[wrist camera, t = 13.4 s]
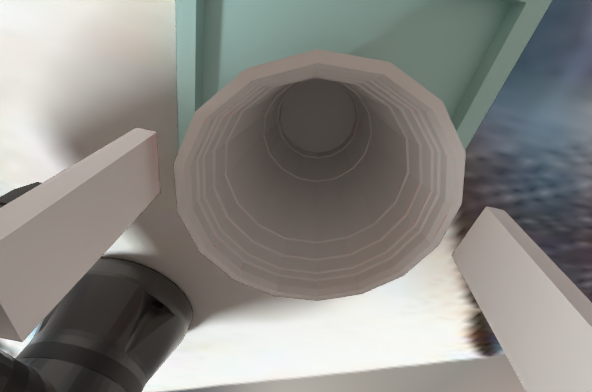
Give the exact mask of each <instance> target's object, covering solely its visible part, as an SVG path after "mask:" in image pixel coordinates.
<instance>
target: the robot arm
mask: <svg viewBox="0 0 592 392" xmlns="http://www.w3.org/2000/svg"><path fill="white" fill-rule="evenodd" d="M159 193H160V177H159V161H158V144H157V132H155V131H150V130H146V129H141V128H137V127H136V128H135V129H133V130H131V131H129V132H128V133H126V134H124V135H123V136H121V137H119V138H118V139H116V140H114V141H113V142H111V143H109V144H107V145H106V146H104V147H102V148H101V149H99V150H97V151H96V152H94V153H92V154H91V155H89V156H87V157H86V158H84V159H82V160H80V161H79V162H77V163H75V164H74V165H72V166H70V167H69V168H67V169H65V170H64V171H62V172H60V173H58V174H57V175H55V176H53V177H52V178H50V179H48V180H47V181H45V182H43V183H39V182H36V183H33V184H30V185H27V186H24V187H20V188H17V189H14V190H12V191H10V192H9V193H7V194H5V195H3V196H1V197H0V338H4V339H9V340H15V341H20V342H23V341H24V340H25V339H26V338H27V336H28V335H29V334H30V333H31V332H32V331H33V330H34V329H35V328H36V327H37V326H38V325H39V323H40V322H41V323H40V325H39V327H38V329H37V331H36V333H35V335H34V337H33V339H32V340H31V342H30V343H29V344H28V345H27V346H26V347H25V348H24V350H23V351H22V352H21V353H20V354H19V355H18V356H17V357H16V358H13V357H12V356H10V355H9V354H7V353H5V352H4V351H2V350H1V349H0V392H142V390H143V388H144V386H145V384H146V383H147V382H148V380H149V379H150V378H151V377H152V376H153V375H154V373H155V372H156V371H157V370H158V369H159V367H160V366H161V365H162V364H163V363H164V362H165V360H166V359H167V358H168V357H169V356H170V355H171V353H172V352H173V351H174V350H175V349H176V347H177V346H178V345H179V344H180V343H181V341H182V340H183V338H184V336H185V334H186V332H187V330H188V328H189V325H190V323H191V320H192V308H191V305H190V303H189V301H188V299H187V298H186V296H185V295H184V293H183V292H182V291H181V290H180V289H179V288H178V287H177V286H176V285H175V284H174V283H172V282H171V281H170V280H168V279H167V278H166V277H164V276H162V275H161V274H159V273H157V272H156V271H154V270H151V269H149V268H147V267H145V266H142V265H139V264H136V263H133V262H129V261H125V260H119V259H110V258H103V259H99V258H100V257H101V256H102V255H103V254H104V253H105V252H106V251H107V250H108V249H109V248H110V247H111V245H112V244H113V243H114V242H115V241H116V240H117V239H118V238H119V237H120V236H121V235H122V234H123V232H124V231H125V230H126V229H127V228H128V227H129V226H130V225H131V224H132V223H133V222H134V221H135V219H136V218H137V217H138V216H139V215H140V214H141V213H142V212H143V211H144V210H145V209H146V208H147V206H148V205H149V204H150V203H151V202H152V201H153V200H154V199H155V198H156V197H157V196H158V195H159ZM452 257H453V259H454V261H455V263H456V264H457V266H458V268H459V270H460V272H461V274H462V275H463V277H464V279H465V281H466V283H467V285H468V286H469V288H470V290H471V292H472V294H473V296H474V297H475V299H476V301H477V303H478V305H479V307H480V308H481V310H482V312H483V314H484V316H485V318H486V319H487V321H488V323H489V325H490V327H491V329H492V330H493V332H494V334H495V336H496V338H497V340H498V341H499V343H500V345H501V347H502V349H503V351H504V352H505V354H506V356H507V358H508V360H509V361H510V363H511V365H512V367H513V369H514V371H515V373H516V374H517V376H518V378H519V380H520V382H521V384H522V385H523V387H524V389H525V391H526V392H592V303H591V301H590V300H589V299H588V298H587V297H586V296H585V295H584V294H583V293H582V292H581V291H580V290H579V289H578V288H577V287H576V286H575V285H574V284H573V282H572V281H571V280H570V279H569V278H568V277H567V276H566V275H565V274H564V273H563V272H562V271H561V270H560V269H559V268H558V267H557V266H556V264H555V263H554V262H553V261H552V260H551V259H550V258H549V257H548V256H547V255H546V254H545V253H544V252H543V251H542V250H541V249H540V248H539V247H538V245H537V244H536V243H535V242H534V241H533V240H532V239H531V238H530V237H529V236H528V235H527V234H526V233H525V232H524V231H523V230H522V229H521V228H520V226H519V225H518V224H517V223H516V222H515V221H514V220H513V219H512V218H511V217H510V216H509V215H508V214H507V213H506V212H505V211H504V210H501V209H496V208H492V207H487V206H486V207H485V208H484V210H483V211H482V213H481V214H480V216H479V217H478V218H477V220H476V221H475V223H474V224H473V225H472V227H471V228H470V230H469V231H468V233H467V234H466V235H465V237H464V238H463V240H462V241H461V243H460V244H459V245H458V247H457V248H456V250H455V251H454V252H453V254H452Z"/></svg>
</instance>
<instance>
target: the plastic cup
mask: <svg viewBox="0 0 592 392" xmlns="http://www.w3.org/2000/svg"><path fill="white" fill-rule="evenodd" d="M465 158H466V152H465V150H464V148H463V146H462V143H461V141H460V139H459V137H458V134H457V132H456V130H455V128H454V125H453V123H452V121H451V119H450V116H449V114H448V112H447V110H446V107H445V105H444V103H443V101H442V100H440V99H439V98H438V97H436V96H435V95H434V94H432V93H431V92H430V91H428V90H427V89H426V88H424V87H423V86H422V85H420V84H419V83H418V82H416V81H415V80H414V79H412V78H411V77H410V76H408V75H407V74H406V73H404V72H403V71H402V70H400V69H399V68H398V67H396V66H395V65H394V64H392V63H391V62H387V61H382V60H376V59H370V58H365V57H359V56H353V55H348V54H342V53H336V52H331V51H325V50H319V49H316V50H313V51H309V52H305V53H301V54H298V55H294V56H290V57H287V58H283V59H279V60H275V61H272V62H268V63H264V64H261V65H257V66H253V67H249V68H246V69H245V70H243V71H242V72H241V73H240V74H239V75H238V76H236V77H235V78H234V79H233V80H232V81H231V82H229V83H228V84H227V85H226V86H225V87H224V88H222V89H221V90H220V91H219V92H218V93H216V94H215V95H214V96H213V97H212V98H211V99H209V100H208V101H207V102H206V103H205V104H204V105H202V106H201V107H200V108H199V109H198V110H197V111H195V113H194V116H193V118H192V120H191V123H190V125H189V128H188V130H187V132H186V135H185V137H184V140H183V142H182V144H181V147H180V149H179V152H178V154H177V156H176V159H175V161H174V164H173V165H174V177H175V190H176V202H177V213H178V215H179V216H180V218H181V220H182V222H183V224H184V225H185V227H186V229H187V231H188V232H189V234H190V236H191V238H192V239H193V241H194V243H195V245H196V246H197V248H198V250H199V252H200V253H201V254H203V255H204V256H205V257H206V258H208V259H209V260H210V261H211V262H212V263H214V264H215V265H216V266H217V267H219V268H220V269H221V270H222V271H223V272H225V273H226V274H227V275H228V276H230V277H231V278H232V279H233V280H235V281H238V282H240V283H243V284H245V285H248V286H250V287H253V288H255V289H258V290H260V291H263V292H265V293H268V294H270V295H273V296H278V297H288V298H297V299H307V300H316V301H319V300H326V299H332V298H339V297H345V296H352V295H358V294H363V293H365V292H367V291H370V290H372V289H374V288H376V287H379V286H381V285H383V284H386V283H388V282H390V281H392V280H395V279H397V278H399V277H401V276H403V275H405V274H406V273H407V272H408V271H409V270H410V269H412V268H413V267H414V266H415V265H416V264H417V263H419V262H420V261H421V260H422V259H423V258H424V257H426V256H427V255H428V254H429V253H430V252H431V251H433V250H434V249H435V248H436V247H437V246H438V245H439V244H440V242H441V240H442V238H443V236H444V235H445V233H446V231H447V229H448V228H449V226H450V224H451V222H452V220H453V219H454V217H455V215H456V213H457V212H458V210H459V208H460V206H461V204H462V195H463V183H464V171H465Z"/></svg>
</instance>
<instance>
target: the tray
mask: <svg viewBox="0 0 592 392" xmlns="http://www.w3.org/2000/svg"><path fill="white" fill-rule="evenodd" d="M551 2H552V0H175V4H176V54H177V105H178V152H179V149H180V147H181V144H182V142H183V140H184V137H185V135H186V132H187V130H188V128H189V125H190V123H191V120H192V118H193V116H194V113H195V111H197V110H198V109H199V108H200V107H201V106H202V105H204V104H205V103H206V102H207V101H208V100H209V99H211V98H212V97H213V96H214V95H215V94H216V93H218V92H219V91H220V90H221V89H222V88H224V87H225V86H226V85H227V84H228V83H229V82H231V81H232V80H233V79H234V78H235V77H236V76H238V75H239V74H240V73H241V72H242V71H243V70H245V69H246V68H249V67H253V66H257V65H261V64H264V63H268V62H272V61H275V60H279V59H283V58H287V57H290V56H294V55H298V54H301V53H305V52H309V51H313V50H316V49H319V50H325V51H331V52H336V53H342V54H348V55H353V56H359V57H365V58H370V59H376V60H382V61H387V62H391V63H392V64H394V65H395V66H396V67H398V68H399V69H400V70H402V71H403V72H404V73H406V74H407V75H408V76H410V77H411V78H412V79H414V80H415V81H416V82H418V83H419V84H420V85H422V86H423V87H424V88H426V89H427V90H428V91H430V92H431V93H432V94H434V95H435V96H436V97H438V98H439V99H440V100H442V101H443V103H444V105H445V107H446V110H447V112H448V114H449V116H450V119H451V121H452V123H453V125H454V128H455V130H456V132H457V134H458V137H459V139H460V141H461V143H462V146H463V148H464V150H466V148H467V146H468V145H469V143H470V141H471V139H472V138H473V136H474V134H475V133H476V131H477V129H478V127H479V126H480V124H481V122H482V120H483V119H484V117H485V115H486V114H487V112H488V110H489V108H490V107H491V105H492V103H493V102H494V100H495V98H496V96H497V95H498V93H499V91H500V90H501V88H502V86H503V84H504V83H505V81H506V79H507V78H508V76H509V74H510V72H511V71H512V69H513V67H514V65H515V64H516V62H517V60H518V59H519V57H520V55H521V53H522V52H523V50H524V48H525V47H526V45H527V43H528V41H529V40H530V38H531V36H532V35H533V33H534V31H535V29H536V28H537V26H538V24H539V23H540V21H541V19H542V17H543V16H544V14H545V12H546V11H547V9H548V7H549V5H550V4H551Z"/></svg>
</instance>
